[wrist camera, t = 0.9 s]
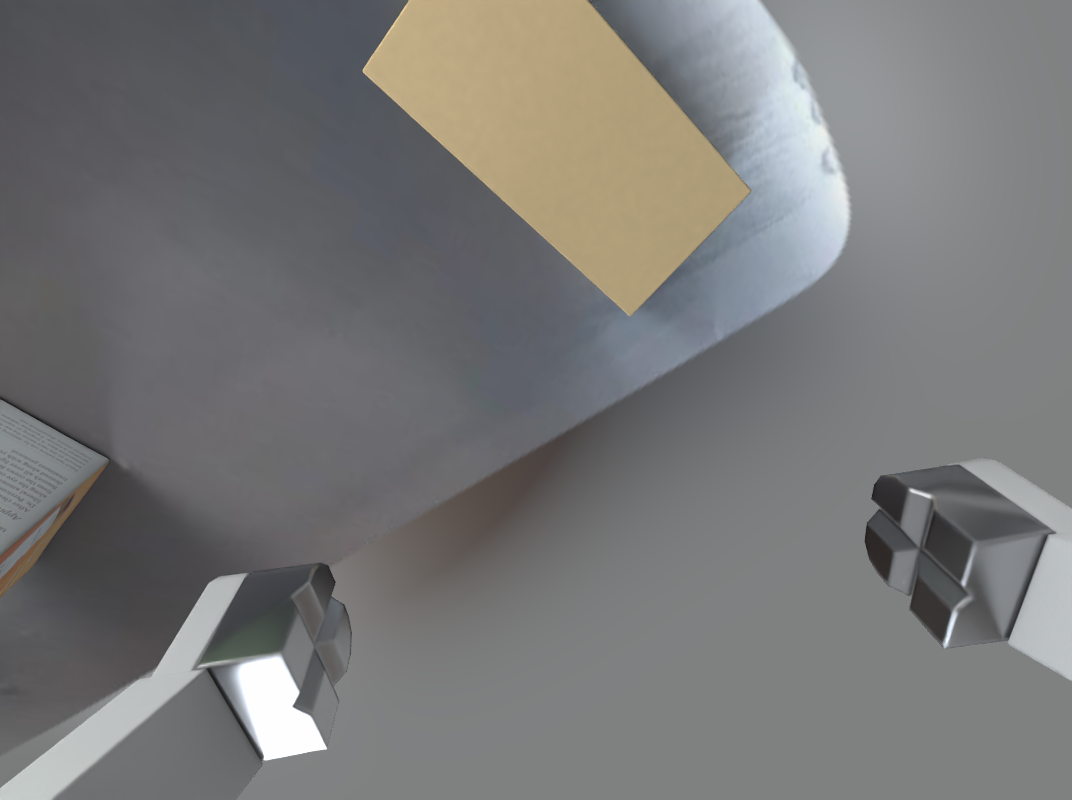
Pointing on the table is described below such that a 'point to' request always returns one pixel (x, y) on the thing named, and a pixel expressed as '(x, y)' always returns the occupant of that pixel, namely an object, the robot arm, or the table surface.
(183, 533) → the table surface
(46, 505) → the small box
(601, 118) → the beige pad
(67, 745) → the robot arm
